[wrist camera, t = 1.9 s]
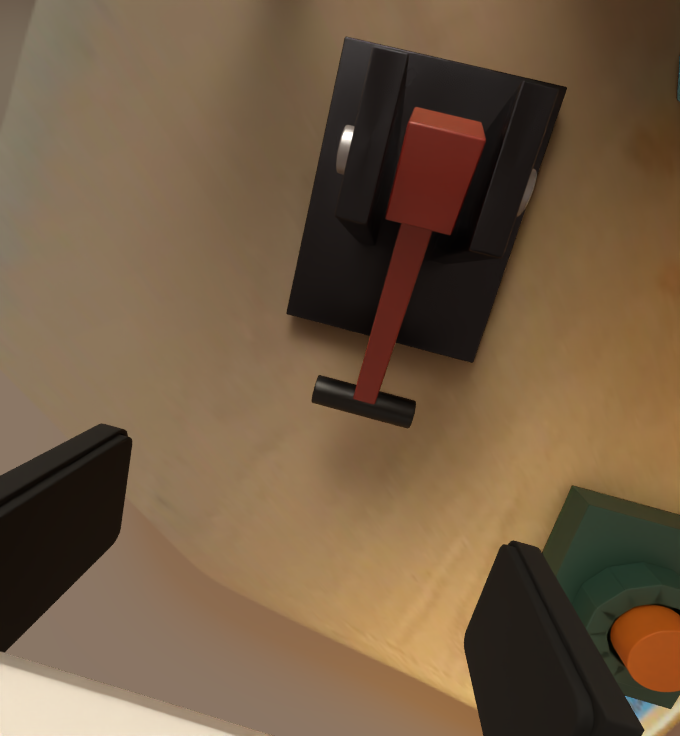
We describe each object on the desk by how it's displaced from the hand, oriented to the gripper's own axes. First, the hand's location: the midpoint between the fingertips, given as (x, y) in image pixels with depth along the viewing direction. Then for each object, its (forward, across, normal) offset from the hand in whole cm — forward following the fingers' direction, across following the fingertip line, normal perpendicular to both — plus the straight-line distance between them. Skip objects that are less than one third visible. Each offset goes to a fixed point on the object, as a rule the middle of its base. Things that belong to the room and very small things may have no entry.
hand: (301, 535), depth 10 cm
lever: (+9, -1, -6) cm, 11 cm away
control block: (+16, -20, +9) cm, 27 cm away
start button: (+12, -20, +9) cm, 25 cm away
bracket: (+16, -1, -10) cm, 19 cm away
